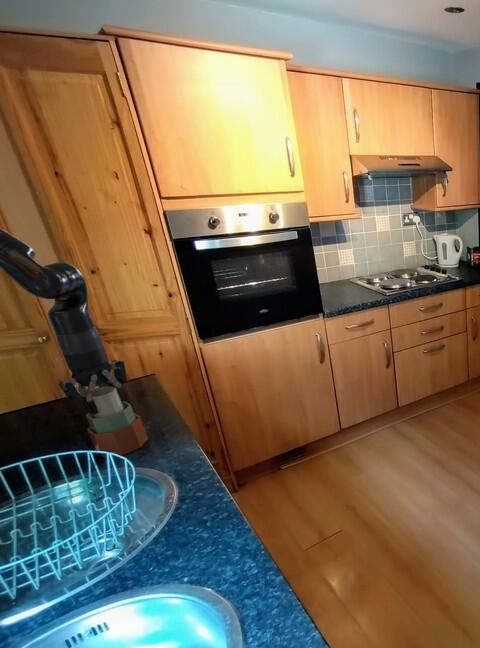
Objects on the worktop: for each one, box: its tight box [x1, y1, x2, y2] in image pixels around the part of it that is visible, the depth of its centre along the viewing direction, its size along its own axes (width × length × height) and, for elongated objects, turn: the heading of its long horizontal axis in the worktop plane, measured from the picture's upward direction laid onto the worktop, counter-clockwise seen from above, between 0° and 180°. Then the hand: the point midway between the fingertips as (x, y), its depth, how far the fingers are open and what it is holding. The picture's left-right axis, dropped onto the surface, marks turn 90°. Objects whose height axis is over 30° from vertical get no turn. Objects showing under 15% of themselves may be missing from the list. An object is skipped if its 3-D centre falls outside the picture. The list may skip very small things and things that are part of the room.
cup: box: [92, 387, 124, 418], centre depth 116 cm, size 6×6×9 cm
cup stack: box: [85, 400, 149, 458], centre depth 118 cm, size 10×10×11 cm
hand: (106, 406), depth 116 cm, fingers closed on cup, 6 cm apart
